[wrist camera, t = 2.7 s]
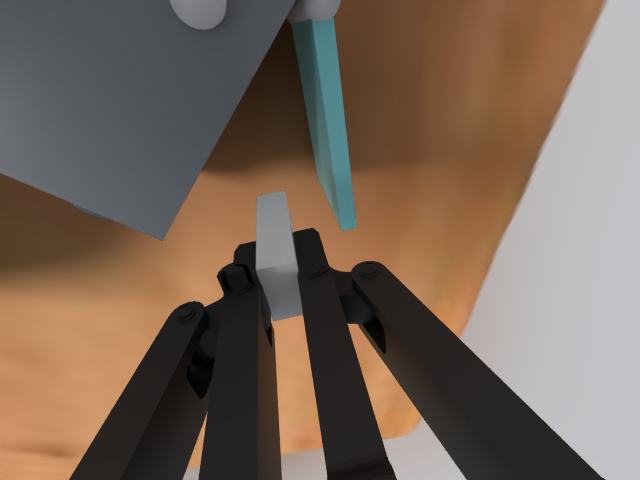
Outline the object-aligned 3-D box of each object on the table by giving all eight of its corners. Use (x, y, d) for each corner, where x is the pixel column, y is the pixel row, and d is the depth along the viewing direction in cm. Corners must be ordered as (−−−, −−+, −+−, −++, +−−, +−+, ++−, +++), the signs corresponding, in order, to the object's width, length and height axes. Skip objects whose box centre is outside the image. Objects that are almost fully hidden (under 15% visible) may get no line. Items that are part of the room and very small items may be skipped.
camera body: (46, 121, 23) (-106, 184, 13) (129, -134, 18) (-27, -345, 8) (183, 189, 28) (143, 275, 18) (285, 2, 22) (310, -24, 12)
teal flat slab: (314, 177, 29) (338, 236, 20) (282, -1, 22) (300, -23, 13) (337, 172, 29) (371, 228, 20) (313, -7, 22) (350, -32, 13)
